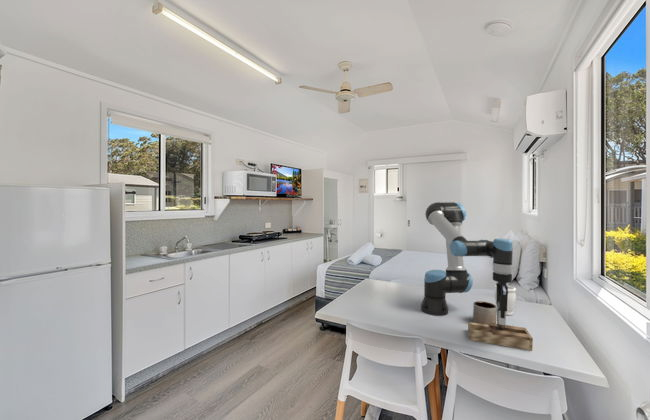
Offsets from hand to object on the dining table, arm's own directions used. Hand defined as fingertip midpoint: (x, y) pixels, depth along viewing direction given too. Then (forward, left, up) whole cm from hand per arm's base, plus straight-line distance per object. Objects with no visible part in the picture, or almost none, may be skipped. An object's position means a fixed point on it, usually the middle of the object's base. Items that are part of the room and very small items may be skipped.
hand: (501, 322), depth 131 cm
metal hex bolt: (0, 0, -7) cm, 7 cm away
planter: (-4, +20, -8) cm, 22 cm away
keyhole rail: (-1, 0, -8) cm, 8 cm away
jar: (+9, +40, -8) cm, 42 cm away
